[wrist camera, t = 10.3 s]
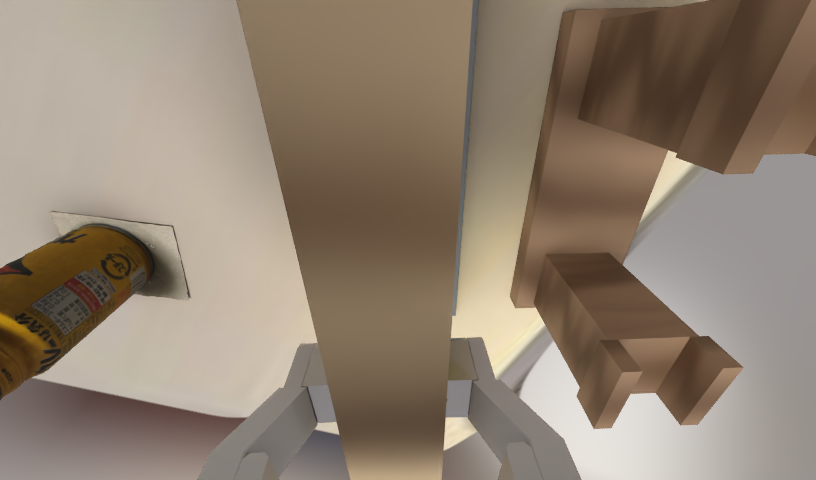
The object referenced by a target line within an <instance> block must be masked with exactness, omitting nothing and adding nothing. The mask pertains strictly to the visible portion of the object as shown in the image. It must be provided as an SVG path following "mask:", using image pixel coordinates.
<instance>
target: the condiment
mask: <svg viewBox="0 0 816 480" xmlns="http://www.w3.org/2000/svg"><path fill="white" fill-rule="evenodd" d="M49 213H50V215H51V216H52V219H53V221H54V223H55V226H56V227H57V229H58V232H59V233H60V234H61V237H59V238H57V239H55V240H54V241H52V242H49V243H47V244H46V245H44V246H42V247H40V248H38V249H36V250H33V251H32V252H30V253H28V254H26V255H25V256H24V257H22V258H20V259H18V260H15V261H13V262H11V263H8V264H6V265H5V266H4V267H2V268H0V400H1V399H2V398H3V397H4V396H5V395H7V394H9V393H10V392H12V391H14V390H15V389H17V388H18V387H19V386H20V385H21V384H22V383H23V382H24V381H25V380H27V379H29V378H31V377H33V376H37V375H39V374H42V373H44V372H45V371H47V370H48V369H50V368H51V367H52V366H53V365H54V364H55V363H56V362H57V361H59V360H60V359H61V358H62V357H63V356H64V355H65V354H67V353H68V352H69V351H70V350H71V349H72V348H73V347H74V346H76V345H77V344H78V343H79V342H80V341H81V340H82V339H83V338H84V337H86V336H87V335H88V334H89V333H90V332H91V331H92V330H93V329H95V328H96V327H97V326H98V325H99V324H100V323H101V322H102V321H104V320H105V319H106V318H107V317H108V316H109V315H110V314H112V313H113V312H114V311H115V310H116V309H117V308H118V307H120V306H121V305H122V304H123V303H124V302H125V301H126V300H127V299H128V298H130V297H131V296H132V295H133V294H138V295H139V294H141V295H144V296H156V297H167V298H173V299H181V300H189V298H188V294H187V292H188V291H187V286H186V281H185V276H184V271H183V267H182V264H181V257H180V255H179V252H178V248H177V242H176V239H175V236H174V232H173V228H172V227H170V226H160V225H154V224H143V223H137V222H127V221H121V220H115V219H109V218H102V217H93V216H85V215H78V214H69V213H60V212H49ZM145 242H147V243H148V244H149V245H147V244H146V243H145ZM150 245H152V246H154V248H152V247H151V246H150ZM149 282H150V283H149Z"/></svg>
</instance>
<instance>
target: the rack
mask: <svg viewBox="0 0 816 480" xmlns="http://www.w3.org/2000/svg"><path fill="white" fill-rule="evenodd" d="M668 150H670V151H673V152H676V153H677V155H676V158H679V159H682V160H684V161H687V162H690V163H693V164H695V165H698V166H701V167H704V168H707V169H709V170H712V171H715V172H718V173H721V174H748V173H754V171H755V169H756V167H757V166H758V164H759V162H760V160H761V158H762V157H763V155H766V154H768V155H769V154H800V153H805V154H809V155H814V156H816V0H709V1H704V2H698V3H693V4H687V5H682V6H676V7H655V8H616V9H576V10H572V11H569V12H565V13H563V15H562V21H561V26H560V31H559V37H558V42H557V47H556V53H555V58H554V64H553V69H552V74H551V80H550V85H549V90H548V96H547V101H546V106H545V112H544V117H543V123H542V128H541V133H540V139H539V144H538V149H537V155H536V160H535V165H534V171H533V176H532V182H531V187H530V192H529V198H528V203H527V208H526V214H525V219H524V224H523V230H522V235H521V241H520V246H519V251H518V257H517V262H516V267H515V273H514V278H513V283H512V289H511V294H510V298H511V300H512V302H513V304H514V306H515V308H533V307H536V309H537V310H538V312H539V314H540V316H541V318H542V319H543V321H544V323H545V325H546V327H547V328H548V330H549V332H550V334H551V336H552V338H553V339H554V341H555V343H556V345H557V347H558V348H559V350H560V352H561V354H562V356H563V357H564V359H565V361H566V363H567V364H568V366H569V368H570V370H571V372H572V374H573V376H574V377H575V379H576V381H577V383H578V385H579V387H580V389H579V391H578V394H577V398H578V400H579V401H580V403H581V405H582V407H583V409H584V411H585V413H586V414H587V416H588V418H589V420H590V422H591V424H592V426H593V428H594V429H600V428H612V426H613V424H614V422H615V420H616V419H617V417H618V415H619V413H620V412H621V409H622V408H623V406H624V404H625V402H626V401H627V399H628V397H629V395H630V394H635V393H636V394H637V393H656V394H657V395H658V396H659V398H660V399H661V400H662V402H663V403H664V404H665V406H666V407H667V408H668V409H669V411H670V412H671V413H672V415H673V416H674V417H675V419H676V420H677V421H678V422H679V424H680V425H698V424H699V422H700V421H701V420H702V419H703V417H704V416H705V415H706V414H707V412H708V411H709V410H710V409H711V407H712V406H713V405H714V404H715V402H716V401H717V400H718V399H719V397H720V396H721V395H722V394H723V393H724V391H725V390H726V389H727V388H728V386H729V385H730V384H731V383H732V381H733V380H734V379H735V378H736V376H737V375H738V374H739V373H740V371H741V370H742V369H743V367H742V366H741V365H740V364H739V363H738V362H737V361H736V360H734V359H733V358H732V357H731V356H730V355H729V354H728V353H727V352H726V351H724V350H723V349H722V348H721V347H720V346H719V345H718V344H717V343H715V342H714V341H713V340H712V339H711V338H710V337H709V336H701V337H700V336H698V335H697V334H696V333H695V332H694V331H693V330H692V329H691V328H690V327H689V326H688V325H686V324H685V323H684V322H683V321H682V320H681V319H680V318H679V317H678V316H677V315H676V314H675V313H674V312H672V311H671V310H670V309H669V308H668V307H667V306H666V305H665V304H664V303H663V302H662V301H661V300H659V299H658V298H657V297H656V296H655V295H654V294H653V293H652V292H651V291H650V290H649V289H648V288H647V287H645V286H644V285H643V284H642V283H641V282H640V281H639V280H638V279H637V278H636V277H635V276H634V275H632V274H631V273H630V272H629V271H628V270H627V269H626V268H625V267H624V266H623V262H624V260H625V257H626V255H627V252H628V250H629V247H630V245H631V242H632V240H633V237H634V235H635V232H636V230H637V227H638V225H639V222H640V219H641V217H642V214H643V212H644V209H645V207H646V204H647V202H648V199H649V197H650V194H651V192H652V189H653V187H654V184H655V182H656V179H657V177H658V174H659V172H660V169H661V167H662V164H663V162H664V159H665V157H666V154H667V152H668Z"/></svg>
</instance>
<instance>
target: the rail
mask: <svg viewBox="0 0 816 480" xmlns="http://www.w3.org/2000/svg"><path fill="white" fill-rule="evenodd" d="M236 1H237V5H238V9H239V14H240V18H241V22H242V26H243V30H244V35H245V39H246V43H247V47H248V51H249V56H250V60H251V64H252V68H253V72H254V77H255V81H256V85H257V89H258V93H259V98H260V102H261V106H262V110H263V114H264V119H265V123H266V127H267V131H268V135H269V140H270V144H271V148H272V152H273V156H274V161H275V165H276V169H277V173H278V177H279V182H280V186H281V190H282V194H283V198H284V203H285V207H286V211H287V215H288V219H289V224H290V228H291V232H292V236H293V240H294V245H295V249H296V253H297V257H298V261H299V266H300V270H301V274H302V278H303V282H304V287H305V291H306V295H307V299H308V303H309V308H310V312H311V316H312V320H313V324H314V329H315V333H316V337H317V341H318V345H319V350H320V354H321V358H322V362H323V366H324V371H325V375H326V379H327V383H328V387H329V392H330V396H331V400H332V404H333V408H334V413H335V417H336V421H337V425H338V429H339V434H340V438H341V442H342V446H343V450H344V455H345V459H346V463H347V467H348V471H349V476H350V480H441V477H442V462H443V447H444V432H445V417H446V402H447V386H448V371H449V356H450V341H451V325H452V310H453V295H454V280H455V265H456V249H457V234H458V219H459V204H460V188H461V173H462V158H463V143H464V127H465V112H466V97H467V82H468V66H469V51H470V36H471V21H472V6H473V0H236Z"/></svg>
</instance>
